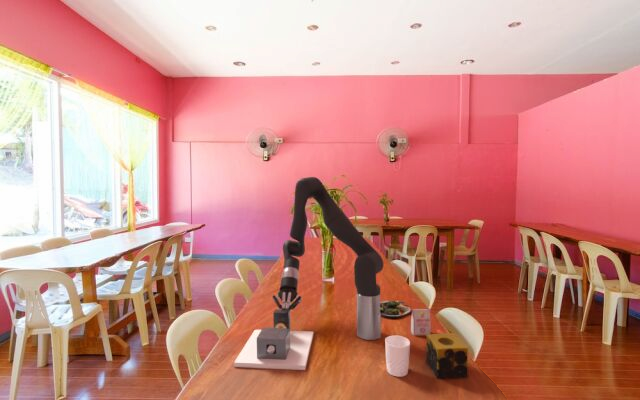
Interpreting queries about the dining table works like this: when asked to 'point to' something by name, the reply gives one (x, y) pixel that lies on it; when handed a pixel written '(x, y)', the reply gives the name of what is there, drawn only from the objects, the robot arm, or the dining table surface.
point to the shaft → (280, 324)
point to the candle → (447, 356)
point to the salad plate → (393, 309)
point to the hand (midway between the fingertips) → (284, 318)
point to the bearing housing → (273, 343)
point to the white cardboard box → (420, 322)
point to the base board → (294, 360)
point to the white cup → (397, 355)
